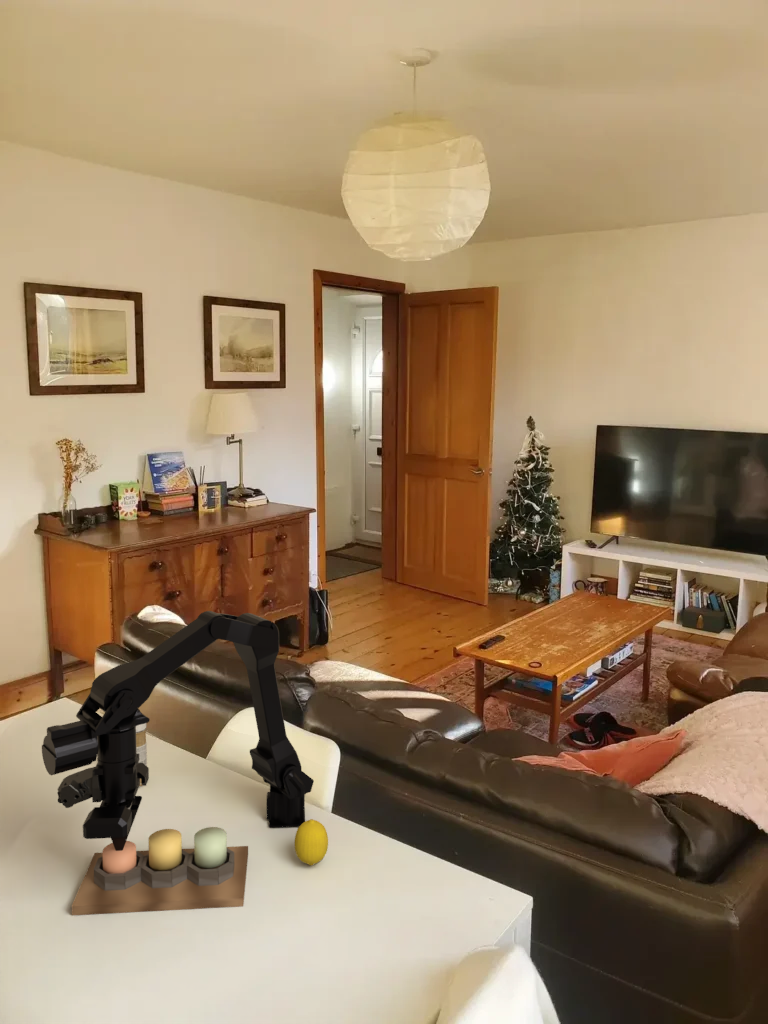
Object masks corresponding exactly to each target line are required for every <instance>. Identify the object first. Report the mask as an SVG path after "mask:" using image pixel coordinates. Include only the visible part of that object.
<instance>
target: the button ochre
mask: <svg viewBox="0 0 768 1024" xmlns="http://www.w3.org/2000/svg"><path fill="white" fill-rule="evenodd" d="M182 839H183V838H182V833H181V832H180V831H179V830H178V829H177V830H176V829H174V828H165V829H164V828H163V829H159V830H157V831H154V832H153V833H152V834H150V835H149V837H148V850H149V865H150V867H151V868H153V869H155V870H169V869H172V868H174V867H176V866H178V865H179V864H180V863H181V861H182V849H183V846H182V845H183V844H182Z"/></svg>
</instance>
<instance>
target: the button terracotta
mask: <svg viewBox="0 0 768 1024" xmlns="http://www.w3.org/2000/svg"><path fill="white" fill-rule="evenodd" d="M136 851H137V845H136V844H135V843H134V842H133V841H130V840H126V843H125V846H124V848H123V850H122V851H116V850H115V848H114V845H113V842H110V843H109V844H107V845H106V846H104V848H103V849H102V854H103V871H104V872H106V873H107V874H115V873H125V872H127V871H129V870H131V869H133V868H135V867H137V864H136Z"/></svg>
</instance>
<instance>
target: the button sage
mask: <svg viewBox="0 0 768 1024" xmlns="http://www.w3.org/2000/svg"><path fill="white" fill-rule="evenodd" d="M227 837H228V835H227V831H226V830H225V829H223V828H221V827H218V826H208V827H204V828H202V829H199V830H198V831H197V832H196V833H194V836H193V843H194V847H193V848H194V856H195V864H196V865H197V866H199V867H202V868H214V867H217V866H220V865H222V864H223V863H224V862H225V861H226V859H227V847H228V845H227V844H228V843H227V842H228V841H227Z"/></svg>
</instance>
